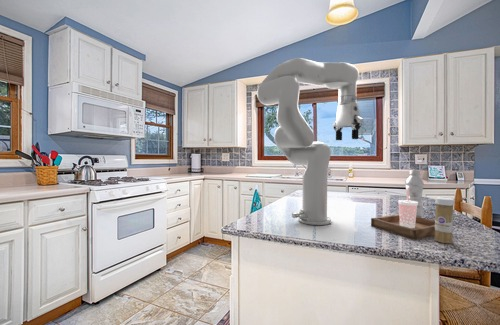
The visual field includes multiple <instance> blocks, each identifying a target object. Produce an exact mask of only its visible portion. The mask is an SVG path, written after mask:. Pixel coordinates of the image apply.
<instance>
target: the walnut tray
mask: <svg viewBox="0 0 500 325" xmlns="http://www.w3.org/2000/svg"><path fill="white" fill-rule="evenodd" d="M370 219H371V220H370V221H371V222H370V226H371V228H372V227H373V228H375V229H379V230H381V231H386V232H388V233H391V234H395V235H396V236H401V237H404V238H407V239H411V240H413V241H414V240H419V239H424V238H428V237H435V219H434V220H433V219H428V218H423V217H416V222H415V228H408V227H405V226H401V225H400V218H399V213H398V214H392V215H385V216H384V215H383V216H379V217H378V216H377V217H371V218H370Z"/></svg>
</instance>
